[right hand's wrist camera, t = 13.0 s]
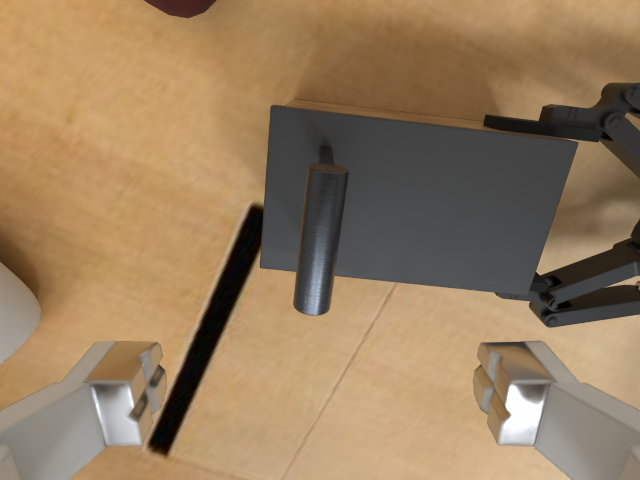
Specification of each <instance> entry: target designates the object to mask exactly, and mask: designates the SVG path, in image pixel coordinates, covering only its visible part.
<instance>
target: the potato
mask: <svg viewBox="0 0 640 480" xmlns="http://www.w3.org/2000/svg"><path fill="white" fill-rule="evenodd" d="M144 1H146V2H147V3H149V4H150V5H152V6H154V7H156V8H158V9H159V10H161V11H163V12H165V13H166V14H168V15H172V16H178V17H184V18H190V17H193V16H196V15H198V14H201V13H204V12H205V11H206V10H207V9H208V8H209V7H210V6H211V5H212V4H213V3H214V2H215V1H216V0H144Z"/></svg>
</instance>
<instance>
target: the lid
mask: <svg viewBox="0 0 640 480" xmlns="http://www.w3.org/2000/svg"><path fill="white" fill-rule="evenodd" d="M577 146H578V142H575V141H571V140H564V139H556V138H548V137H539V136H531V135H523V134H514V133H506V132H497V131H489V130H481V129H472V128H464V127H456V126H447V125H439V124H430V123H422V122H414V121H405V120H397V119H389V118H380V117H372V116H364V115H355V114H347V113H338V112H330V111H322V110H313V109H305V108H297V107H288V106H280V105H272V106H271V110H270V125H269V140H268V155H267V169H266V184H265V199H264V213H263V228H262V243H261V258H260V268H265V269H275V270H285V271H294V272H297V273H296V283H295V292H294V302H293V305H294V307H295V309H296V310H297V311H299V312H301V313H303V314H306V315H322V314H325V313H327V312H328V311H329V309H330V304H331V297H332V290H333V283H334V276H342V277H352V278H362V279H371V280H381V281H390V282H400V283H410V284H419V285H429V286H438V287H448V288H458V289H467V290H477V291H486V292H496V293H506V294H515V295H525V296H527V295H528V293H529V290H530V287H531V284H532V281H533V278H534V275H535V272H536V269H537V266H538V263H539V260H540V257H541V254H542V251H543V248H544V245H545V242H546V239H547V236H548V233H549V230H550V227H551V224H552V221H553V218H554V215H555V212H556V209H557V206H558V203H559V200H560V197H561V194H562V191H563V188H564V185H565V182H566V179H567V176H568V173H569V170H570V167H571V164H572V161H573V158H574V155H575V152H576V149H577Z"/></svg>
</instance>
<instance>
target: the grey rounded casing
mask: <svg viewBox="0 0 640 480" xmlns="http://www.w3.org/2000/svg"><path fill="white" fill-rule="evenodd" d="M40 319H41V308H40V305H39V302H38V301H37V299H36V297H35V296H34V294H33V293H32V292H31V290H30V289H29V288H28V287H27V286H26V285H25V284H24V283H23V282H22V281H21V280H20V279H19V278H18V277H17V276H16V275H15V274H14V273H13V272H11V271H10V270H9V269H8V268H7V267H6V266H5V265H3V264H2V263H1V262H0V365H1V364H2V363H3V362H4V361H6V360H7V359H8V358H9V357H10V356H11V355H12V354H14V353H15V352H16V351H17V350H18V349H19V348H20V347H21V346H22V345H23V344H24V343H25V342H26V341H27V340H28V339H29V337H30V336H31V335H32V334H33V332H34V331H35V330H36V328H37V326H38V324H39V322H40Z"/></svg>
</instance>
